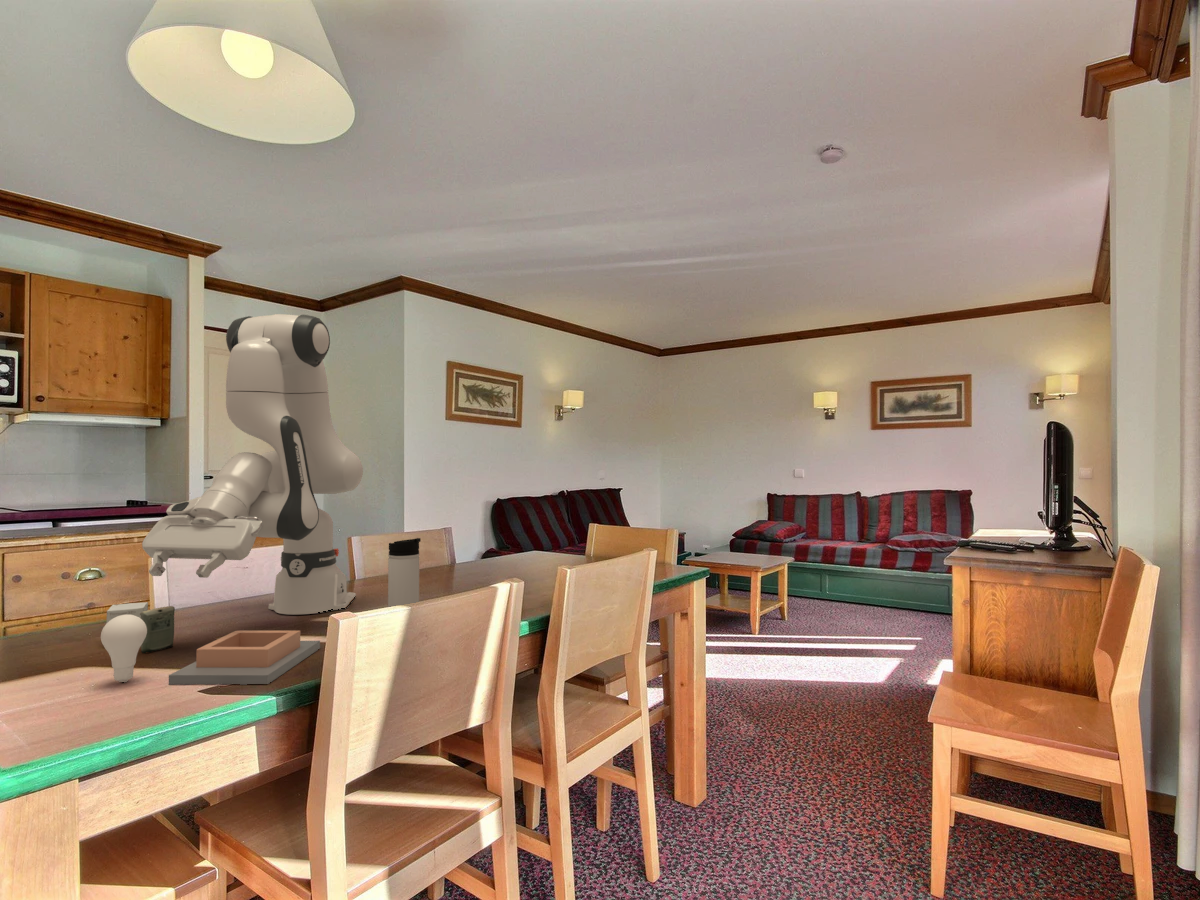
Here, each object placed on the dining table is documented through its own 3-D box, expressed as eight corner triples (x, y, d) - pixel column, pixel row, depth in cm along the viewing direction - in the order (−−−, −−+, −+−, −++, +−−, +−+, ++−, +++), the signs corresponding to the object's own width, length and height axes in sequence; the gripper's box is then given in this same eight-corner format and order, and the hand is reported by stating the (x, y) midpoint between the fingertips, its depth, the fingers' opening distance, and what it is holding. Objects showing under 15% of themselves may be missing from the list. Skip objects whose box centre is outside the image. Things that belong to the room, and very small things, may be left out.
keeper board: (236, 648, 125) (237, 625, 125) (319, 648, 125) (320, 625, 125) (168, 684, 105) (169, 656, 105) (267, 684, 105) (267, 656, 105)
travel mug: (411, 638, 132) (412, 540, 133) (382, 636, 134) (382, 539, 134) (425, 630, 139) (426, 536, 139) (397, 628, 140) (398, 536, 140)
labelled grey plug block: (159, 654, 121) (159, 611, 121) (131, 654, 121) (131, 611, 121) (178, 645, 127) (179, 604, 127) (151, 645, 127) (152, 604, 127)
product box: (105, 648, 125) (105, 610, 125) (111, 640, 130) (111, 604, 130) (143, 644, 128) (144, 607, 128) (148, 637, 133) (148, 601, 133)
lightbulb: (115, 691, 102) (116, 621, 102) (91, 686, 104) (92, 617, 104) (155, 678, 108) (155, 612, 108) (130, 674, 110) (131, 609, 110)
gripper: (273, 527, 128) (238, 586, 118) (179, 525, 130) (137, 583, 121) (258, 506, 123) (221, 566, 114) (162, 505, 126) (117, 563, 116)
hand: (177, 575), depth 117 cm, fingers open, 8 cm apart
